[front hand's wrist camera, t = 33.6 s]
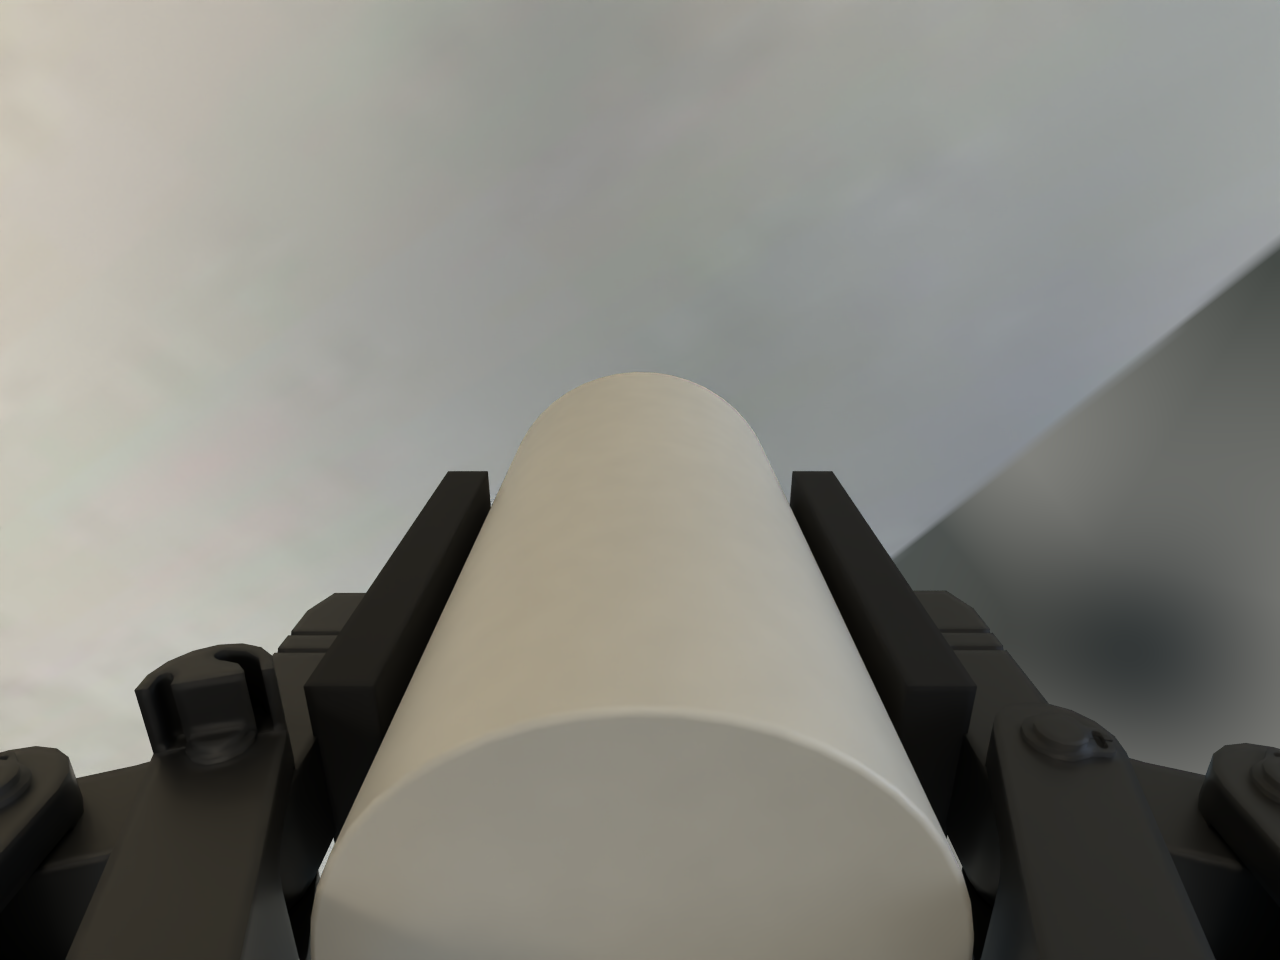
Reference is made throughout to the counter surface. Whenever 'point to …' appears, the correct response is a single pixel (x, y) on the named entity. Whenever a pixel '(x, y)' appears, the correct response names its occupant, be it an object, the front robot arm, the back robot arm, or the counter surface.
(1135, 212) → the counter surface
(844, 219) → the counter surface
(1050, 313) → the counter surface
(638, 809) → the canister
